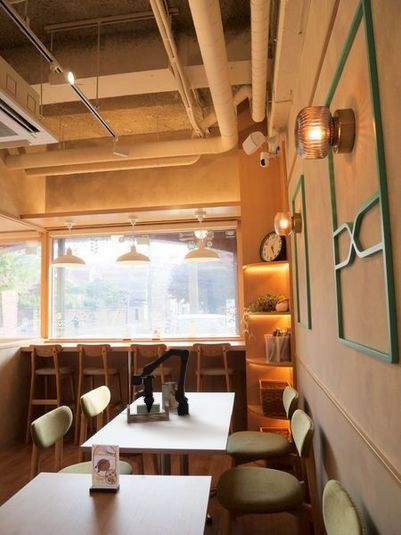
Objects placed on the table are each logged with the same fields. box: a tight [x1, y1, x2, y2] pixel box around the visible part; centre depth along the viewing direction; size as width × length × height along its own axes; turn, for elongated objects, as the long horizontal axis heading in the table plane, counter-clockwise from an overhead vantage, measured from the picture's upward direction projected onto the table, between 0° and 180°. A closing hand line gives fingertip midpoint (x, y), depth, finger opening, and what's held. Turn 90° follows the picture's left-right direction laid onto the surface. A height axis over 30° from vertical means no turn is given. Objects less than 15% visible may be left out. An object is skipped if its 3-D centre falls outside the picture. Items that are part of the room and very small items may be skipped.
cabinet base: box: [126, 403, 170, 424], centre depth 248 cm, size 24×10×8 cm, turn 100°
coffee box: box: [161, 381, 179, 411], centre depth 277 cm, size 9×6×16 cm
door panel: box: [136, 402, 161, 414], centre depth 259 cm, size 14×3×6 cm, turn 100°
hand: (148, 411), depth 259 cm, fingers closed on door panel, 3 cm apart
